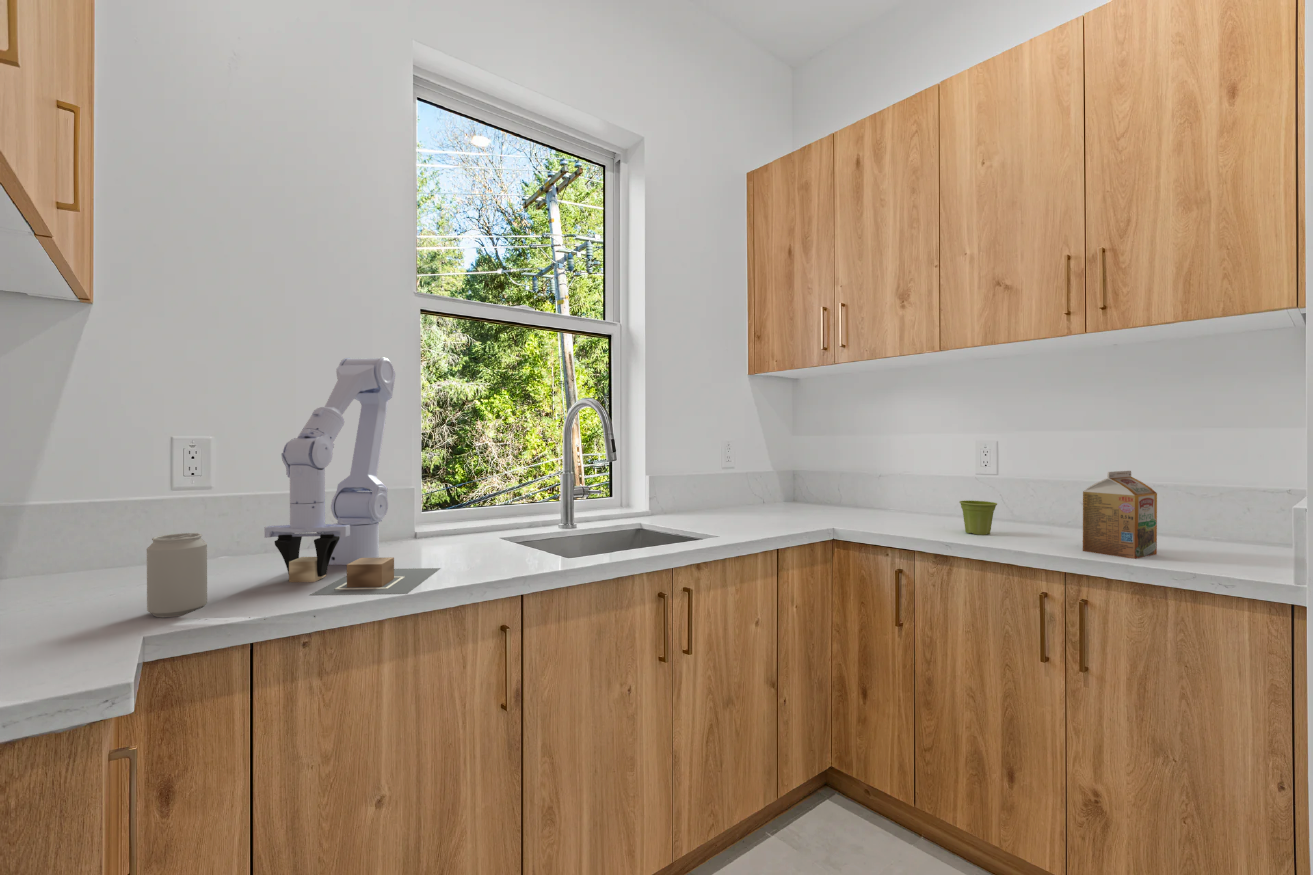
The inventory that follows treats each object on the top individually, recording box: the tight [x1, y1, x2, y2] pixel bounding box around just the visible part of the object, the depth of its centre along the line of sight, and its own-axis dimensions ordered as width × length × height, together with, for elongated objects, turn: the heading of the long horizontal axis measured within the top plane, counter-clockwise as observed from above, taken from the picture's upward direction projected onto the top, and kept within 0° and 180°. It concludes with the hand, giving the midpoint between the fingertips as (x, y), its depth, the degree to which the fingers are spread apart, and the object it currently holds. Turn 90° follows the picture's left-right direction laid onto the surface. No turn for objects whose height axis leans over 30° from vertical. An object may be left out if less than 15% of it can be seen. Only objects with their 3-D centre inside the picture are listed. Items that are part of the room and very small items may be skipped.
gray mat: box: [309, 567, 442, 596], centre depth 115 cm, size 16×20×1 cm
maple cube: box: [288, 556, 327, 583], centre depth 117 cm, size 4×4×4 cm
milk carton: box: [1082, 470, 1158, 560], centre depth 146 cm, size 11×11×19 cm
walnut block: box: [346, 556, 395, 587], centre depth 113 cm, size 6×6×4 cm
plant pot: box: [958, 500, 998, 536], centre depth 174 cm, size 9×9×9 cm
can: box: [146, 532, 208, 618], centre depth 98 cm, size 8×8×12 cm
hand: (307, 575), depth 117 cm, fingers closed on maple cube, 4 cm apart
